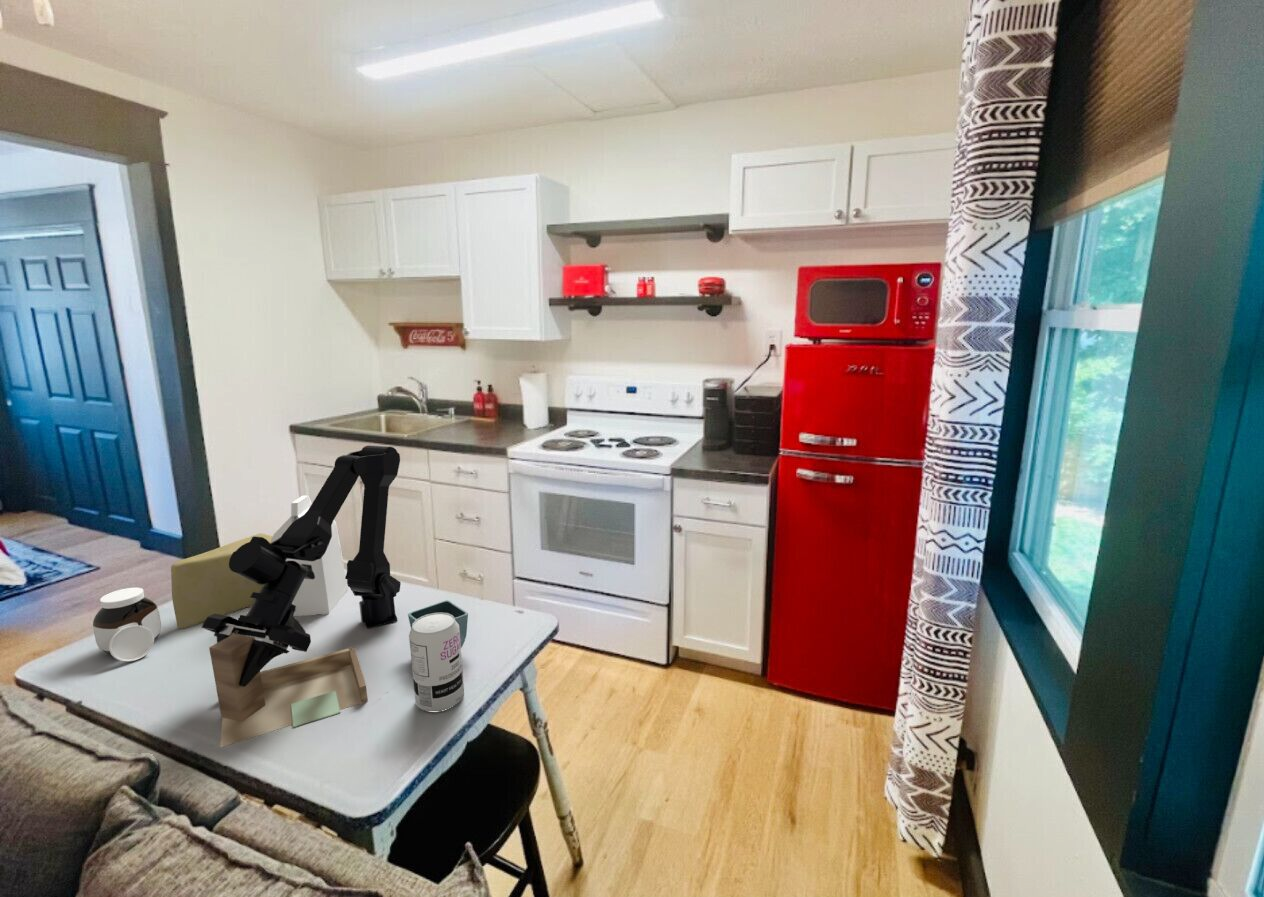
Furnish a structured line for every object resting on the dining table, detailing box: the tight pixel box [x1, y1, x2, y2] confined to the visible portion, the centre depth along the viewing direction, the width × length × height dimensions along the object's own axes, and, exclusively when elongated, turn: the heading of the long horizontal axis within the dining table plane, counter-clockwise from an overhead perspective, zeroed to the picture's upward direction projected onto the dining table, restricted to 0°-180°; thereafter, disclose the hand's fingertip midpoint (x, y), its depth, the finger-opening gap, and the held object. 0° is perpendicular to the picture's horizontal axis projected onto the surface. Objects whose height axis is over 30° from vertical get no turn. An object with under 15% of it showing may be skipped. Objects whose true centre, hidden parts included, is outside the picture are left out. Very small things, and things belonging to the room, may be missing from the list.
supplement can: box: [408, 613, 465, 712], centre depth 103 cm, size 8×8×15 cm
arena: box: [219, 646, 369, 748], centre depth 104 cm, size 22×16×3 cm
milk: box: [271, 494, 349, 617], centre depth 138 cm, size 12×12×26 cm
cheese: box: [170, 533, 273, 630], centre depth 138 cm, size 22×10×15 cm, turn 150°
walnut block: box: [208, 634, 265, 722], centre depth 100 cm, size 4×4×13 cm
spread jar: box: [92, 587, 162, 662], centre depth 120 cm, size 12×11×12 cm
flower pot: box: [407, 599, 469, 649], centre depth 118 cm, size 9×9×9 cm
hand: (230, 683), depth 99 cm, fingers closed on walnut block, 4 cm apart
